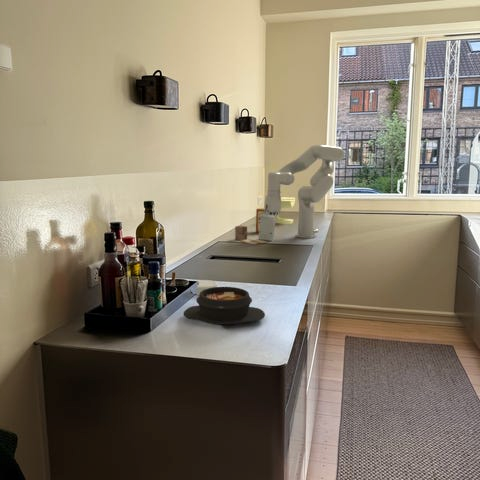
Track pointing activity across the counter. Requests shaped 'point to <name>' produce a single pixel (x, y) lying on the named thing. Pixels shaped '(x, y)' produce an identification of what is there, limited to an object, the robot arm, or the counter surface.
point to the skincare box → (267, 227)
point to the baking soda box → (258, 215)
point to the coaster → (205, 285)
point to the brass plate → (253, 241)
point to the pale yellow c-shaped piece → (285, 203)
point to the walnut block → (241, 233)
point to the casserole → (224, 307)
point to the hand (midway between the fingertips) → (272, 223)
